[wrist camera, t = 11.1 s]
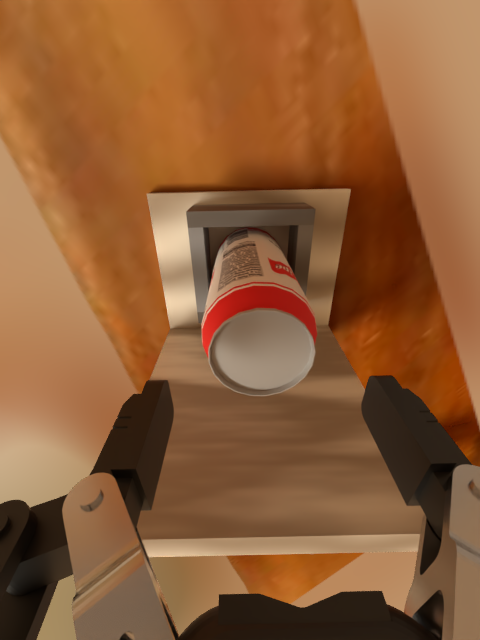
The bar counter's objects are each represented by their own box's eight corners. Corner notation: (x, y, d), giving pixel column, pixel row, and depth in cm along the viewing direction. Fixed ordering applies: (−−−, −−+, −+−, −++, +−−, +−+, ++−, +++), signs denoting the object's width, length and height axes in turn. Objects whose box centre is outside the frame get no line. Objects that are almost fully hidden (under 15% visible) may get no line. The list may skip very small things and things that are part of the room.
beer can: (266, 212, 25) (304, 274, 11) (289, 272, 27) (342, 381, 14) (205, 242, 26) (169, 330, 12) (233, 296, 29) (230, 417, 15)
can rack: (323, 335, 33) (433, 550, 14) (174, 338, 33) (95, 558, 14) (346, 188, 25) (662, 254, 6) (149, 192, 25) (-99, 271, 6)
